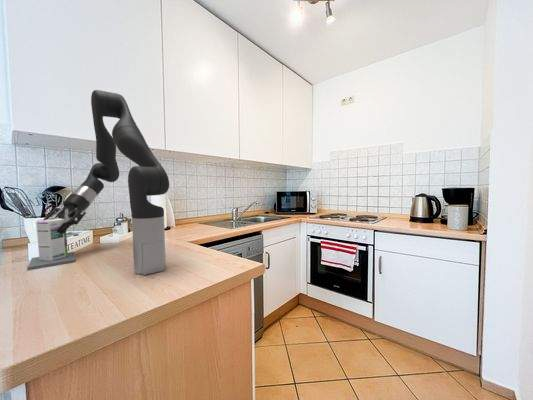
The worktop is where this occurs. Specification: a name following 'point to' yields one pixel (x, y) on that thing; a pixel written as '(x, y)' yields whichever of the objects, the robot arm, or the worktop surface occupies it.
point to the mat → (50, 262)
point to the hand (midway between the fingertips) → (50, 232)
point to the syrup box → (51, 240)
